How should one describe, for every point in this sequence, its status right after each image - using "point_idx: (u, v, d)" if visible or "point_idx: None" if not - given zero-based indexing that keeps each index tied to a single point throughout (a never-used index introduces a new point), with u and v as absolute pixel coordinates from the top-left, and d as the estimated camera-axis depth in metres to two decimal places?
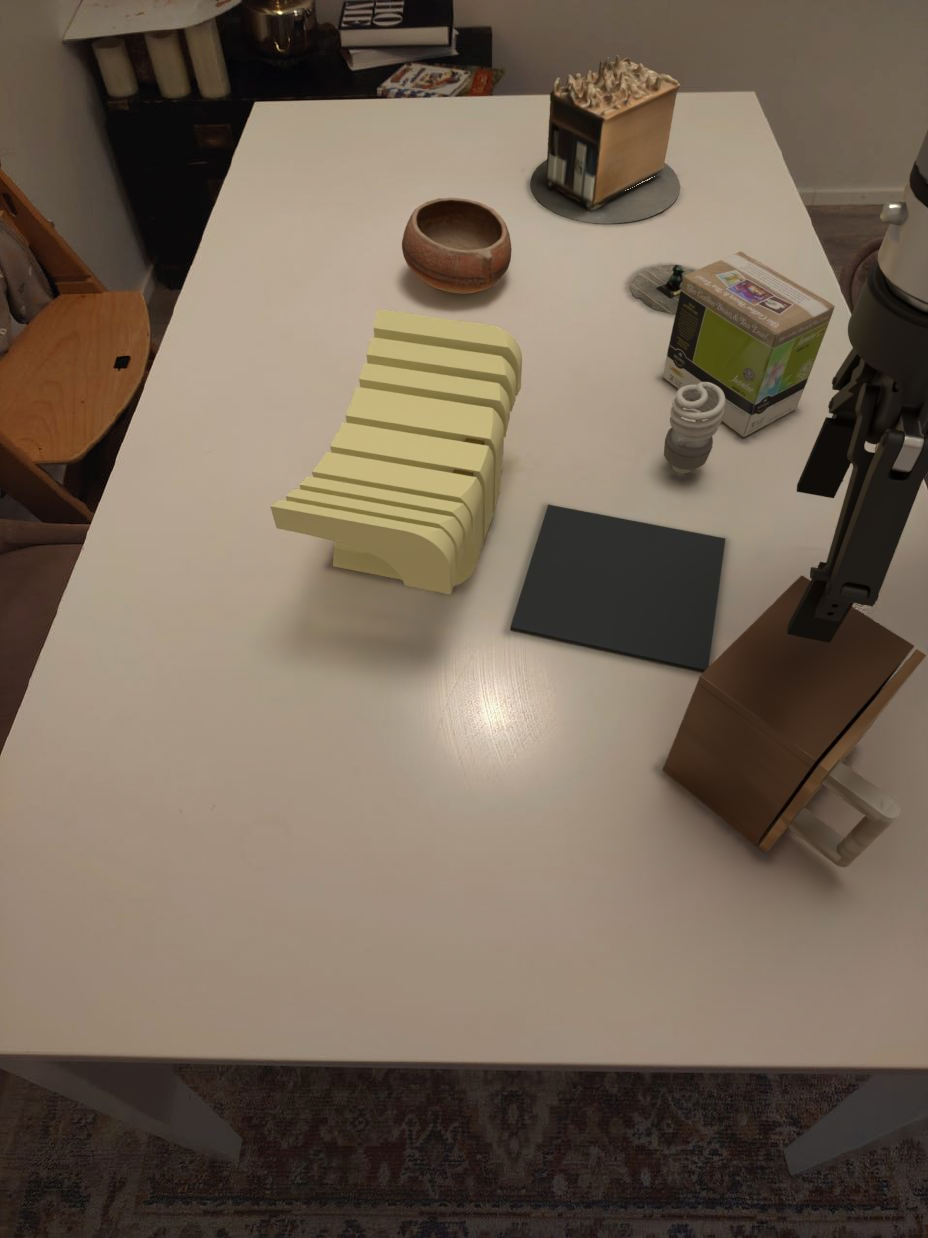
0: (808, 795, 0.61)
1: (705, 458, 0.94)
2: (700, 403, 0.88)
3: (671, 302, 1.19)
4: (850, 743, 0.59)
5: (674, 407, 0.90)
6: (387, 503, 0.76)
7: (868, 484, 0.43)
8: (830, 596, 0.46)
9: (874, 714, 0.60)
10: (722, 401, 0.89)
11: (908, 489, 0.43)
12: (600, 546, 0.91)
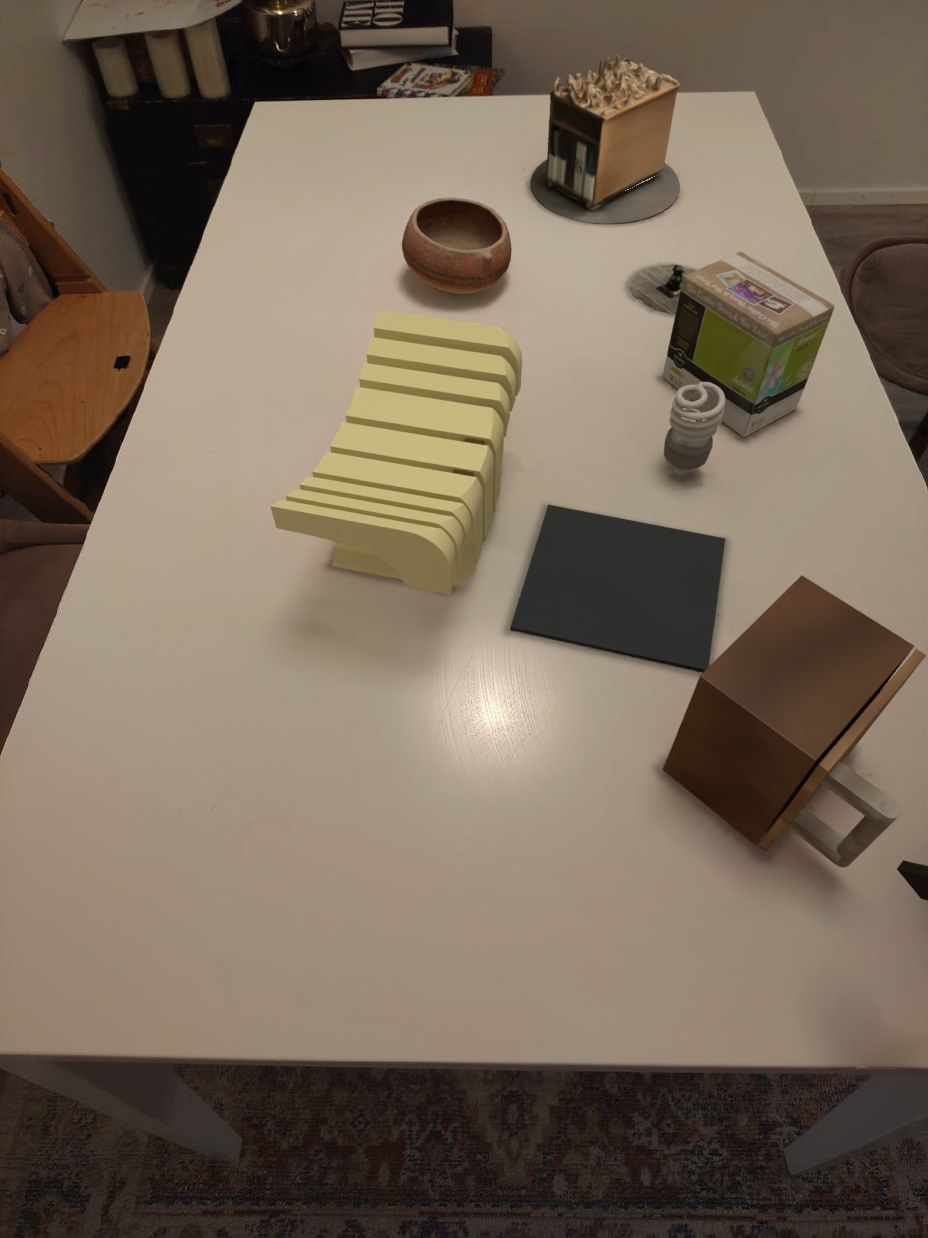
0: (808, 795, 0.61)
1: (705, 458, 0.94)
2: (700, 403, 0.88)
3: (671, 302, 1.19)
4: (850, 743, 0.59)
5: (674, 407, 0.90)
6: (387, 503, 0.76)
7: None
8: None
9: (874, 714, 0.60)
10: (722, 401, 0.89)
11: None
12: (600, 546, 0.91)
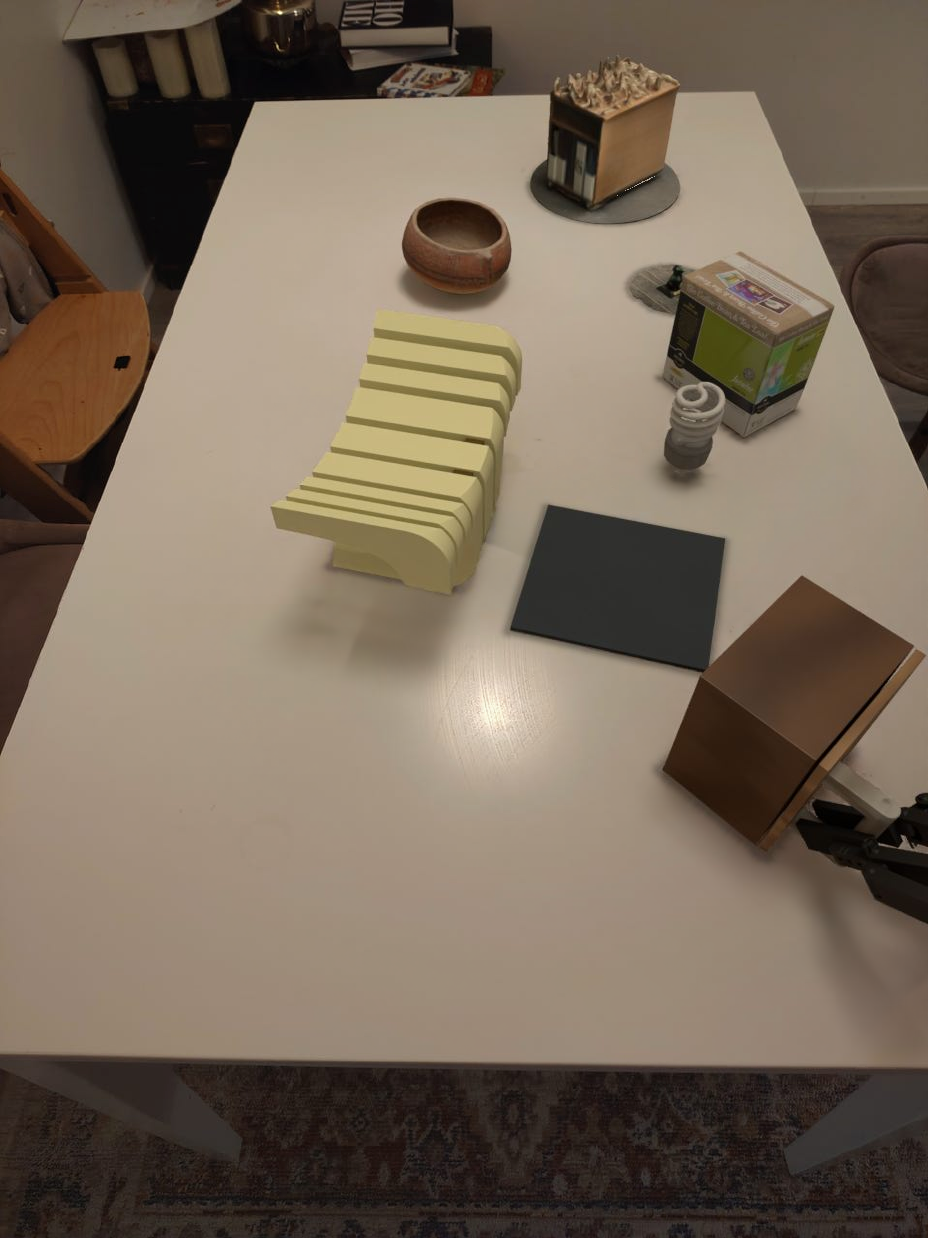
0: (808, 795, 0.61)
1: (705, 458, 0.94)
2: (700, 403, 0.88)
3: (671, 302, 1.19)
4: (850, 743, 0.59)
5: (674, 407, 0.90)
6: (388, 503, 0.76)
7: None
8: None
9: (874, 714, 0.60)
10: (722, 401, 0.89)
11: None
12: (600, 546, 0.91)
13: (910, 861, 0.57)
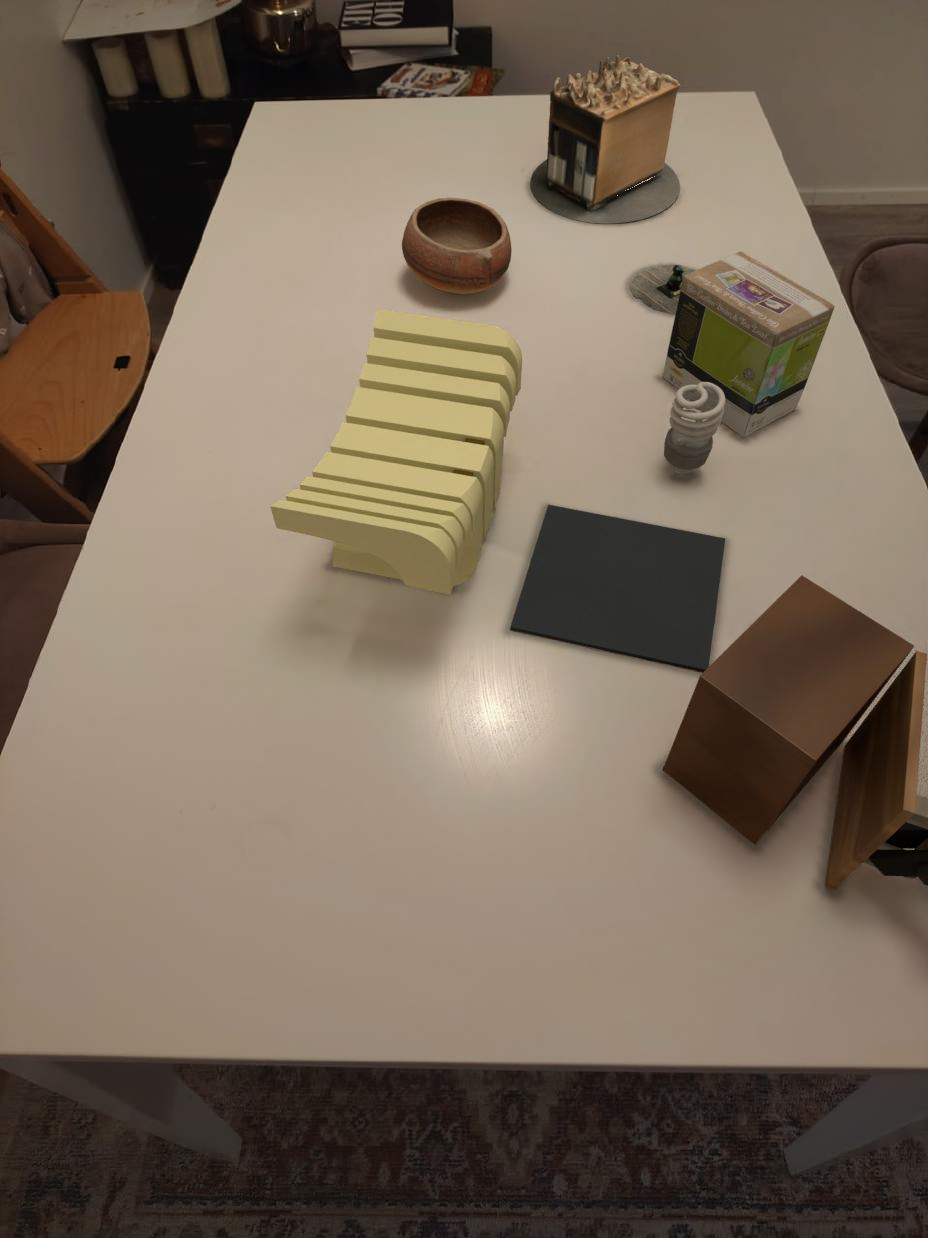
0: (889, 836, 0.59)
1: (705, 458, 0.94)
2: (700, 403, 0.88)
3: (671, 302, 1.19)
4: (916, 774, 0.57)
5: (674, 407, 0.90)
6: (388, 503, 0.76)
7: None
8: None
9: (919, 734, 0.59)
10: (722, 401, 0.89)
11: None
12: (600, 546, 0.91)
13: None
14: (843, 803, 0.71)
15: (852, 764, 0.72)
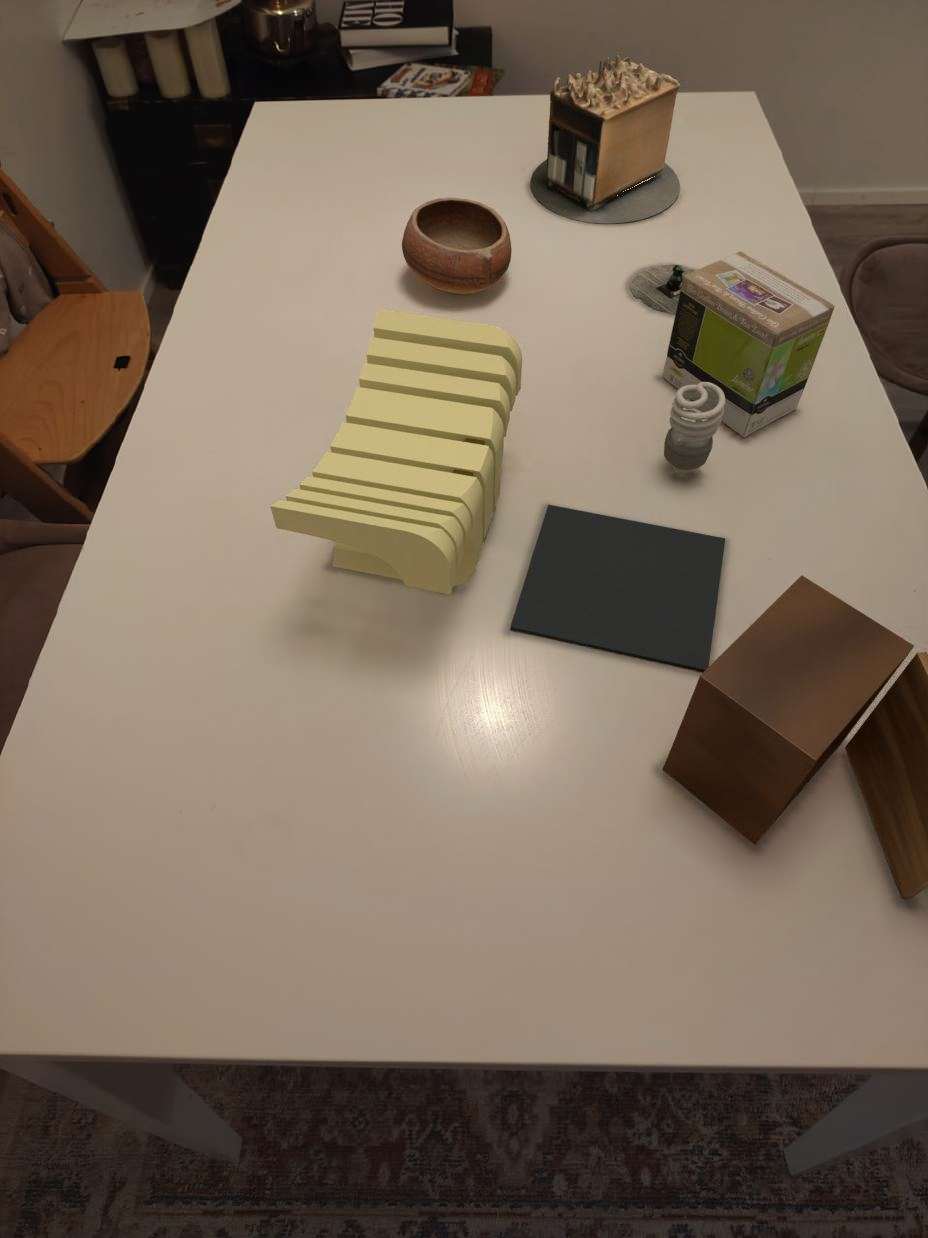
0: None
1: (705, 458, 0.94)
2: (700, 403, 0.88)
3: (671, 302, 1.19)
4: None
5: (674, 407, 0.90)
6: (388, 503, 0.76)
7: None
8: None
9: None
10: (722, 401, 0.89)
11: None
12: (600, 546, 0.91)
13: None
14: (881, 810, 0.70)
15: (872, 768, 0.71)
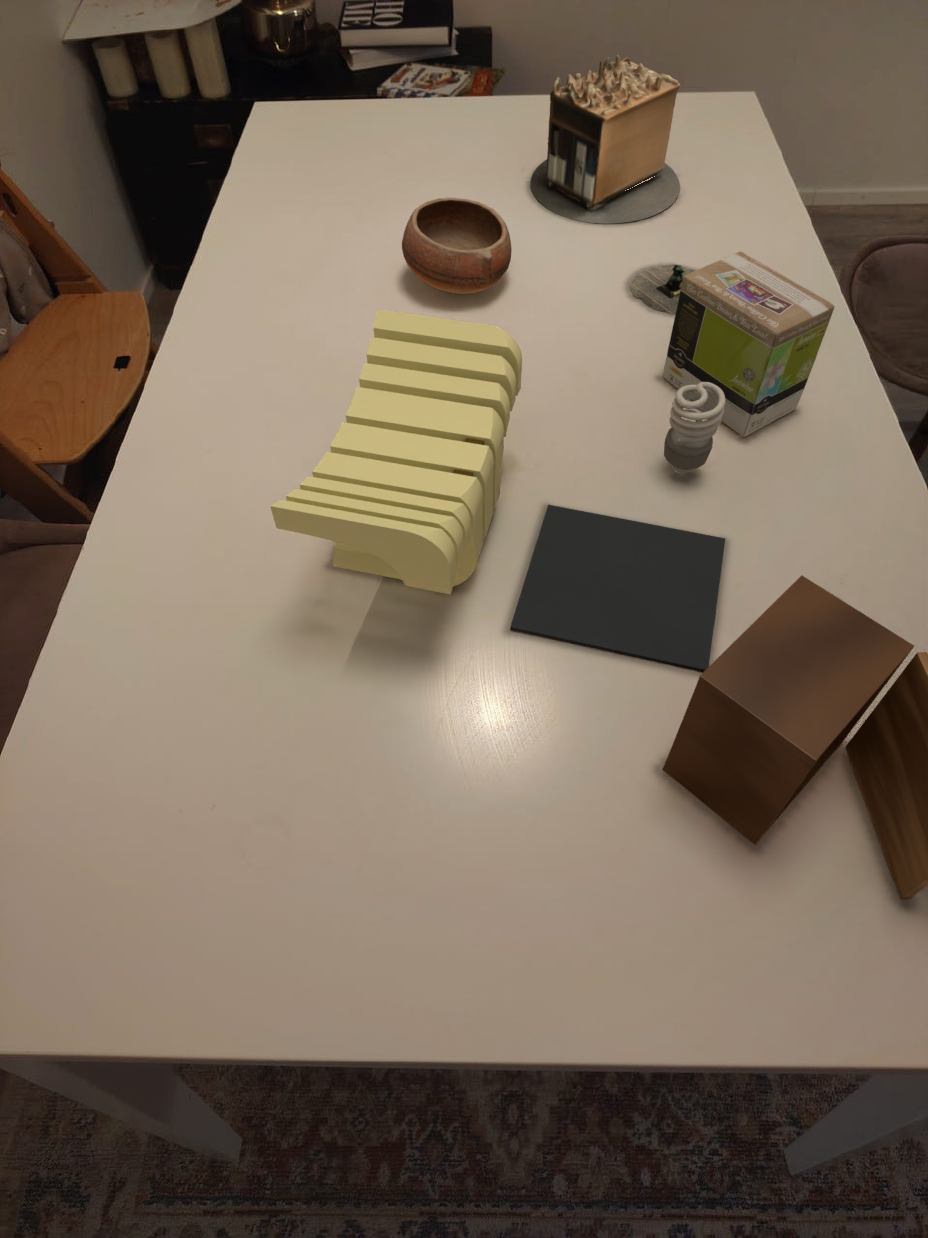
0: None
1: (705, 458, 0.94)
2: (700, 403, 0.88)
3: (671, 302, 1.19)
4: None
5: (674, 407, 0.90)
6: (387, 503, 0.76)
7: None
8: None
9: None
10: (722, 401, 0.89)
11: None
12: (600, 546, 0.91)
13: None
14: (880, 810, 0.70)
15: (872, 768, 0.71)
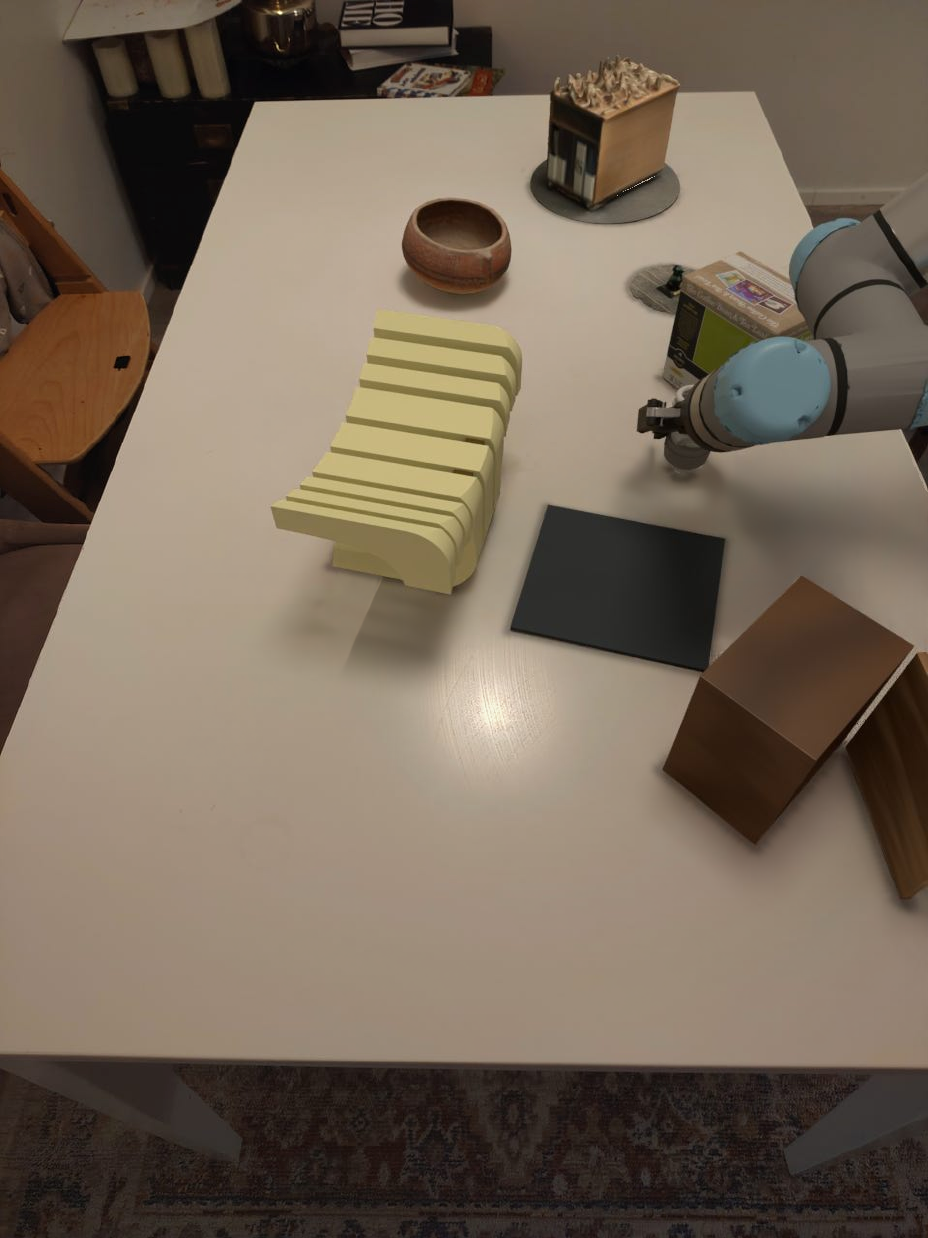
0: None
1: (705, 458, 0.94)
2: None
3: (671, 302, 1.19)
4: None
5: None
6: (388, 503, 0.76)
7: None
8: None
9: None
10: None
11: None
12: (600, 546, 0.91)
13: None
14: (880, 810, 0.70)
15: (872, 768, 0.71)
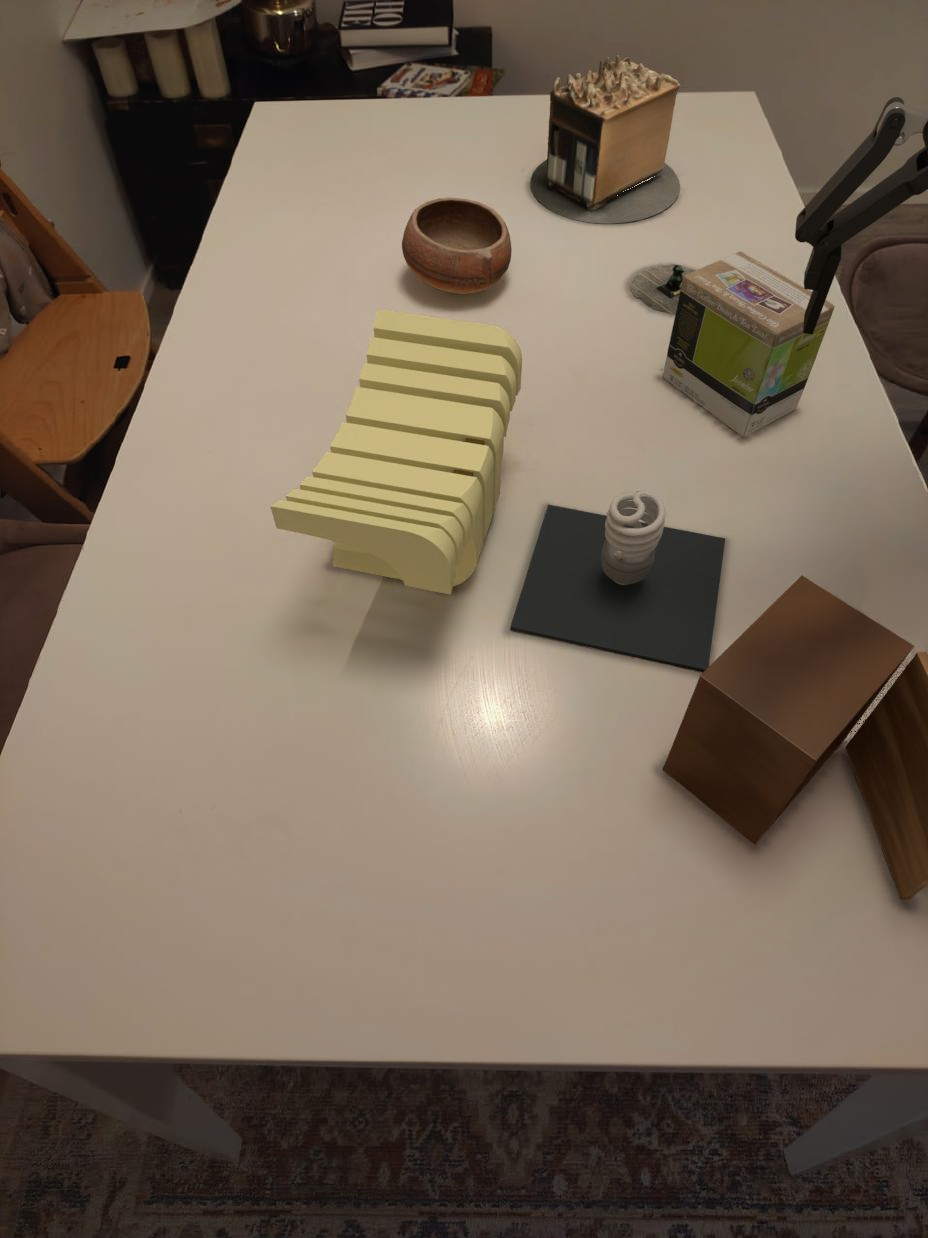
0: None
1: (646, 572, 0.84)
2: (636, 518, 0.77)
3: (671, 302, 1.19)
4: None
5: (608, 520, 0.80)
6: (388, 503, 0.76)
7: (866, 140, 0.57)
8: None
9: None
10: (662, 515, 0.78)
11: (867, 149, 0.56)
12: (600, 546, 0.91)
13: None
14: (880, 810, 0.70)
15: (872, 768, 0.71)
